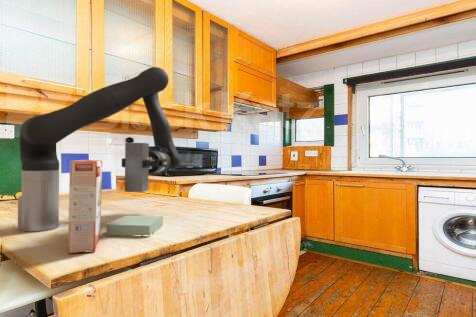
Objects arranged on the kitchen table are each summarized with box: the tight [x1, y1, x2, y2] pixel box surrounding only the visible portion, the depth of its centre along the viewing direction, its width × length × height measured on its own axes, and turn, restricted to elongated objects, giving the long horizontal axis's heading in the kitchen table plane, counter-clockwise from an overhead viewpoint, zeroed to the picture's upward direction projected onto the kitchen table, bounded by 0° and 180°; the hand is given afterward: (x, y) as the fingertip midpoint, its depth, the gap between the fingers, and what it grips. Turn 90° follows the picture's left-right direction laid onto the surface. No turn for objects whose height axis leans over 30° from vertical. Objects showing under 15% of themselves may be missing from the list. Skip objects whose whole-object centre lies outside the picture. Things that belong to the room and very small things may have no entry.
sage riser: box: [105, 215, 164, 237], centre depth 85 cm, size 12×12×3 cm
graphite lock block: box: [124, 142, 150, 193], centre depth 85 cm, size 5×5×14 cm
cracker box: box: [67, 159, 103, 255], centre depth 71 cm, size 14×6×21 cm, turn 21°
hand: (133, 163), depth 82 cm, fingers closed on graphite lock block, 5 cm apart
